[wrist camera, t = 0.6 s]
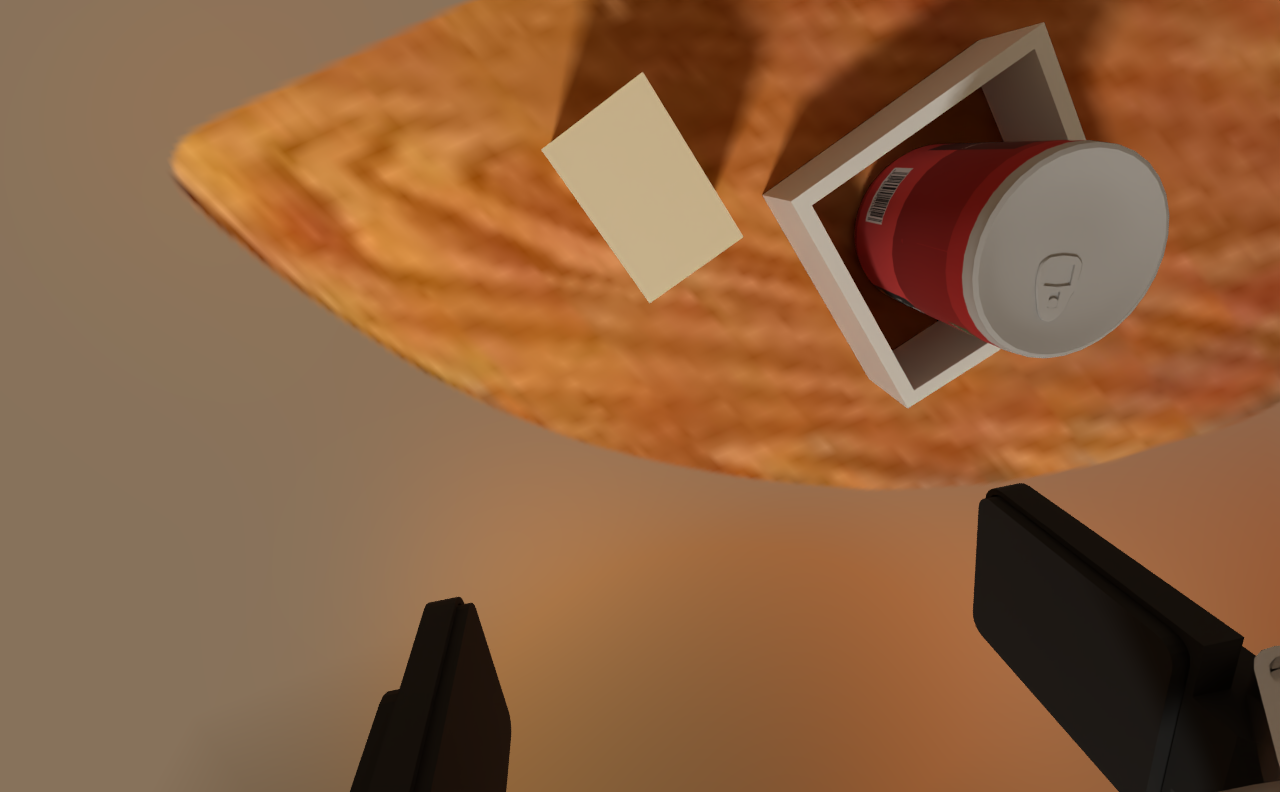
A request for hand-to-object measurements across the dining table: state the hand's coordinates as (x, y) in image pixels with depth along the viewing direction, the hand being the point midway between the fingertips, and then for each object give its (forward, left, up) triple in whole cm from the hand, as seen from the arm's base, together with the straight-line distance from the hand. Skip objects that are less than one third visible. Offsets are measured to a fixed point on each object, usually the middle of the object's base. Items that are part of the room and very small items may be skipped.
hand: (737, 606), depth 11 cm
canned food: (-15, +6, -24) cm, 29 cm away
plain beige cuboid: (-4, -5, -24) cm, 24 cm away
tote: (-15, +5, -24) cm, 28 cm away
